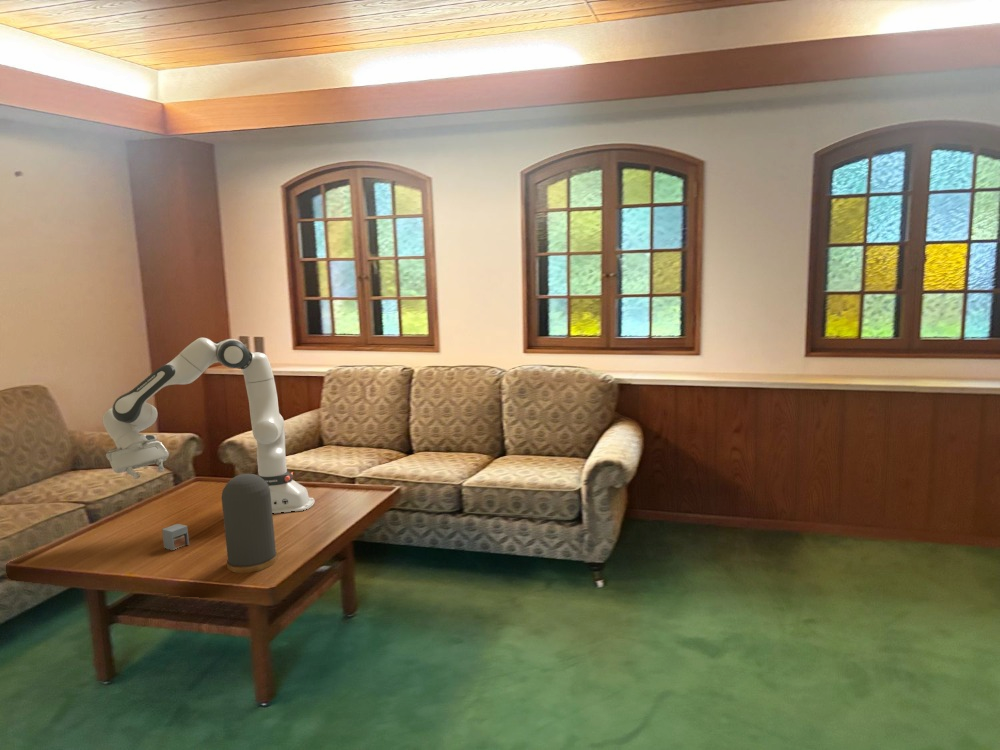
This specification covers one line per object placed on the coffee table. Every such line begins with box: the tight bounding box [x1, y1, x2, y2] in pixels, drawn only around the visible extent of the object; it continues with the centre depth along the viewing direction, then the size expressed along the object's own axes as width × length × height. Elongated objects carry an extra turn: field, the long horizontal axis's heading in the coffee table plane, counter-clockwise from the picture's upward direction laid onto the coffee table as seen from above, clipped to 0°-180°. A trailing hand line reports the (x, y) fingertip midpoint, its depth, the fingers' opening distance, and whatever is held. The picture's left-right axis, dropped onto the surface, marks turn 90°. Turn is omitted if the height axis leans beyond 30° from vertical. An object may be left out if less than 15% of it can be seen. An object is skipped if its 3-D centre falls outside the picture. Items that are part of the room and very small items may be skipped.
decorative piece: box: [221, 473, 279, 574], centre depth 228 cm, size 16×16×30 cm
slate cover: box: [161, 523, 190, 551], centre depth 246 cm, size 6×6×7 cm
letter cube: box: [174, 535, 186, 550], centre depth 246 cm, size 4×4×4 cm
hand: (150, 474), depth 254 cm, fingers open, 8 cm apart
